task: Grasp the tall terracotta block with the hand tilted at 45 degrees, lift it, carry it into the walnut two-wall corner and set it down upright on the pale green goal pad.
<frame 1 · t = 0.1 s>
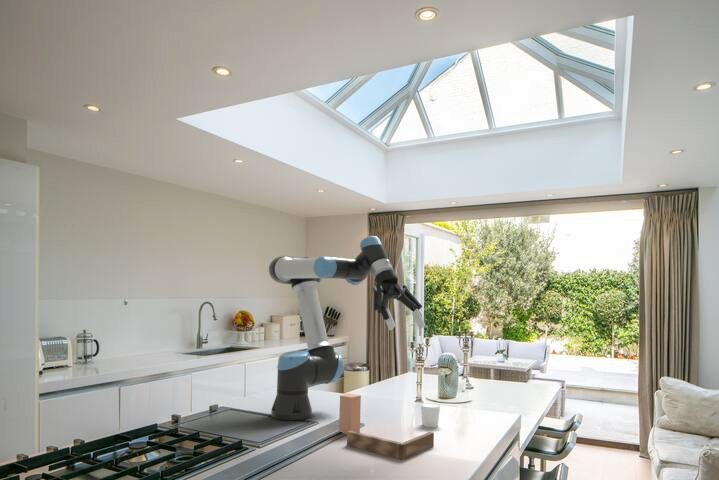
hand: (408, 327, 167), 36 cm above the kitchen island, tool tilted 35°, fingers open, 13 cm apart
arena: (386, 444, 159), on the kitchen island
white cup: (430, 425, 184), on the kitchen island
block: (349, 432, 172), on the kitchen island
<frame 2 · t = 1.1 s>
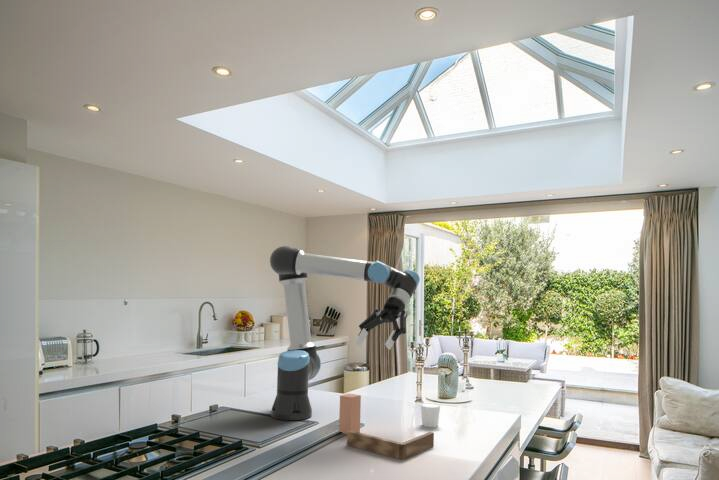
hand: (372, 345, 184), 28 cm above the kitchen island, tool tilted 45°, fingers open, 13 cm apart
nothing on the kitchen island moved.
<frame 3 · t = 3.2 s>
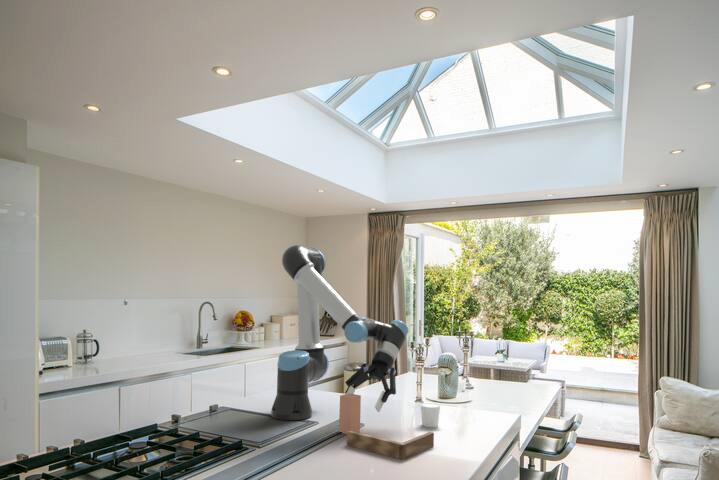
hand: (360, 406, 175), 8 cm above the kitchen island, tool tilted 45°, fingers open, 13 cm apart
nothing on the kitchen island moved.
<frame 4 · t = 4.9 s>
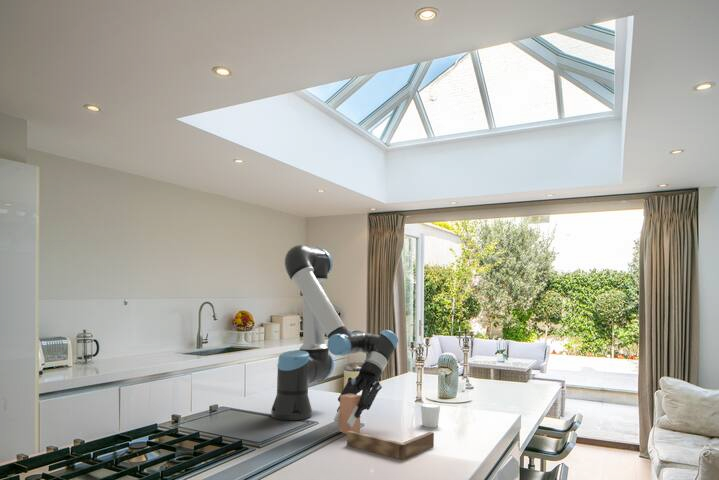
hand: (342, 423, 170), 4 cm above the kitchen island, tool tilted 45°, fingers closed on block, 5 cm apart
block: (349, 432, 172), on the kitchen island, touching gripper
everything else where it was.
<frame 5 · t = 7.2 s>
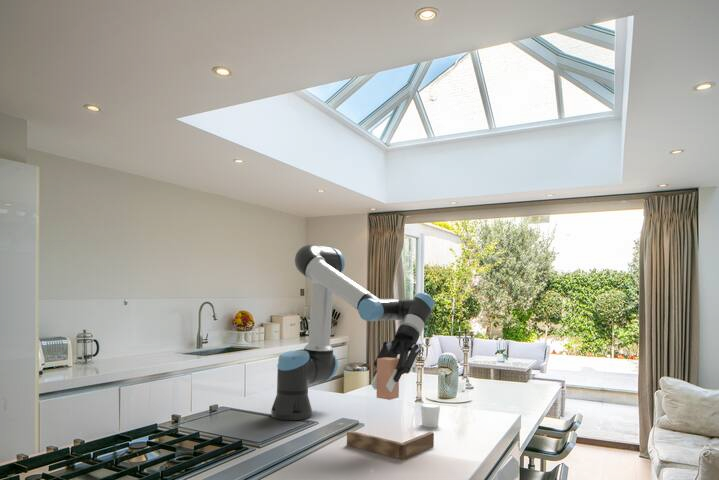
hand: (381, 387, 158), 18 cm above the kitchen island, tool tilted 45°, fingers closed on block, 5 cm apart
block: (387, 397, 160), point 14 cm above the kitchen island, touching gripper
everything else where it was.
when the fingers open (5 cm above the kitchen island, at t = 9.9 s): block drops 1 cm, resting on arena.
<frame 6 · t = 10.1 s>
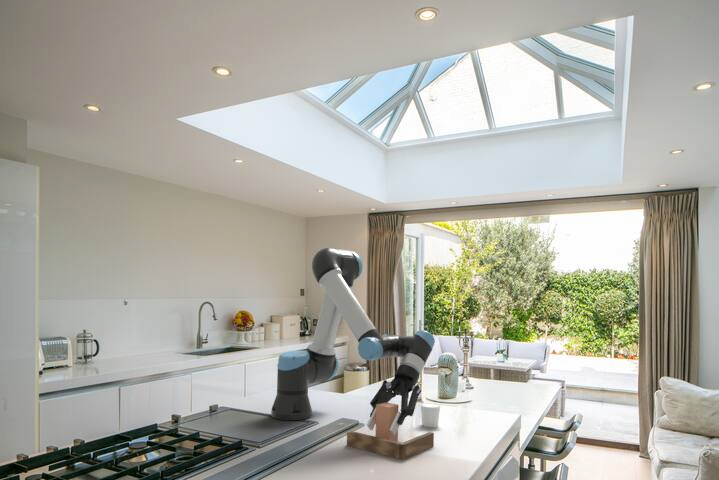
hand: (380, 430, 157), 5 cm above the kitchen island, tool tilted 45°, fingers open, 8 cm apart
block: (386, 444, 159), resting on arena
everything else where it was.
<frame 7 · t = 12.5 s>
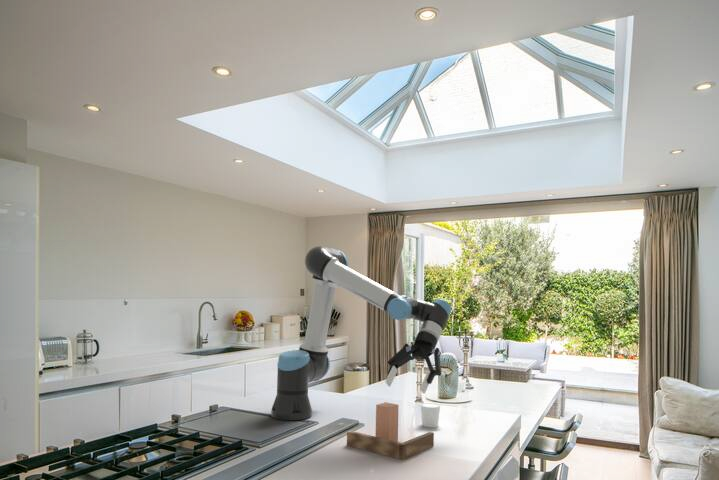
hand: (404, 387, 170), 16 cm above the kitchen island, tool tilted 40°, fingers open, 13 cm apart
nothing on the kitchen island moved.
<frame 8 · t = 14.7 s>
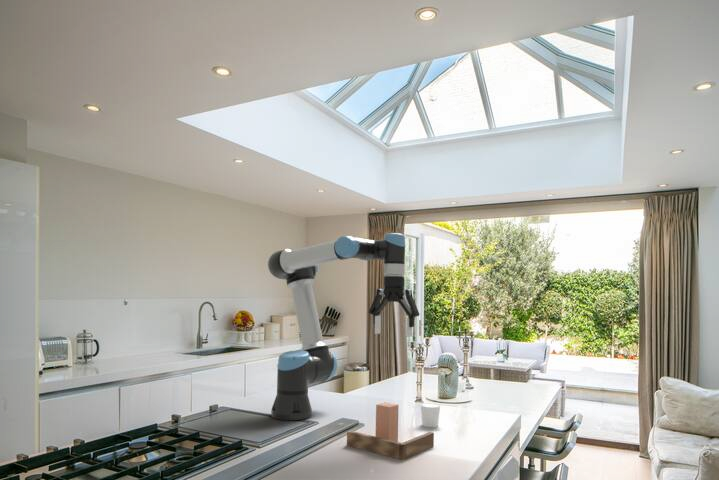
hand: (393, 335, 184), 32 cm above the kitchen island, tool pointing down, fingers open, 13 cm apart
nothing on the kitchen island moved.
at the end: block inside the target area on the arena (0.1 cm from its centre), point 0.1 cm above the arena's base; block tilted 0°; the gripper is holding nothing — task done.
